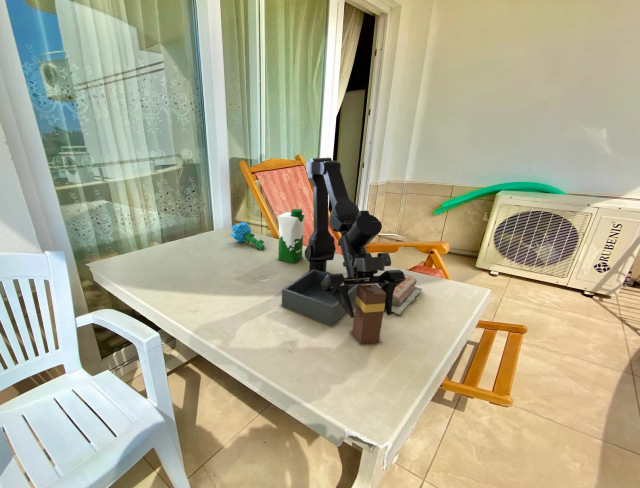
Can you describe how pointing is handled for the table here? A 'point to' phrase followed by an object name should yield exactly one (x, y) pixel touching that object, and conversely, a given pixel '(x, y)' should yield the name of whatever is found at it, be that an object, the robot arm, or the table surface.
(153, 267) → the table surface
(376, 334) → the chocolate box
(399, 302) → the packaged product
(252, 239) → the toy flower
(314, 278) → the open storage bin
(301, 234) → the milk carton
